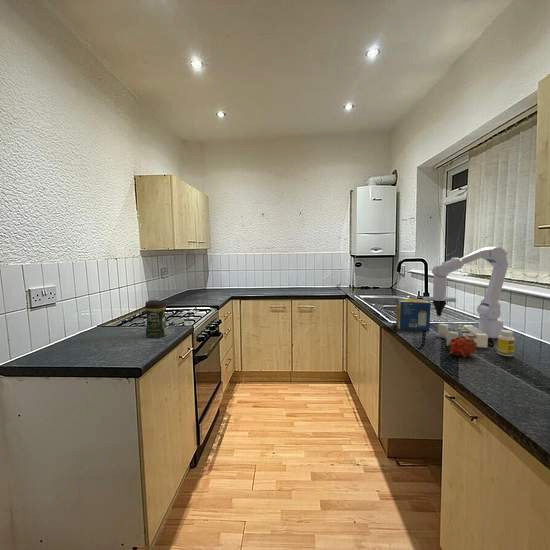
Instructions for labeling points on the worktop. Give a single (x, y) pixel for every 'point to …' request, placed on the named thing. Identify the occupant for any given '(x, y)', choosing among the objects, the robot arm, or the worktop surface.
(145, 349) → the worktop surface
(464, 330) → the breaker panel
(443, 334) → the white cylinder tube
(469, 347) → the dragon fruit
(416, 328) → the protein box
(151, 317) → the coffee jar
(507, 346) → the supplement bottle
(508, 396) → the worktop surface
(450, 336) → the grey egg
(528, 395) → the worktop surface
